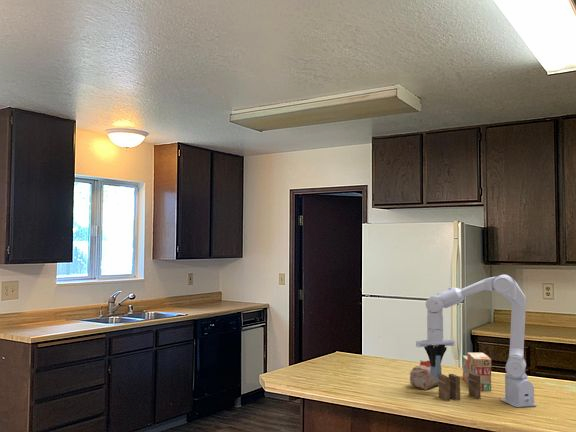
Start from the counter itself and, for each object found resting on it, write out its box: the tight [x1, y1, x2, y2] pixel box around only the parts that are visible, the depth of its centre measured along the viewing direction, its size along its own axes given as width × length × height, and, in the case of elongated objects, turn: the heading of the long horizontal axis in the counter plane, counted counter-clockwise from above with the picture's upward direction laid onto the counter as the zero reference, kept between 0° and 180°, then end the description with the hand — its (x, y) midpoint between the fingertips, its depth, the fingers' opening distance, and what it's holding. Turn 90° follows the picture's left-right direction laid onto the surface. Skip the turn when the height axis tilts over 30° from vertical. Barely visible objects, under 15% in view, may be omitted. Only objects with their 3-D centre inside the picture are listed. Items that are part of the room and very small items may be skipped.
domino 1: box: [438, 373, 451, 402], centre depth 203 cm, size 2×5×8 cm, turn 14°
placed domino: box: [430, 354, 442, 378], centre depth 210 cm, size 2×5×8 cm, turn 13°
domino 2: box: [448, 373, 461, 401], centre depth 204 cm, size 2×5×8 cm, turn 14°
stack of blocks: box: [461, 352, 492, 393], centre depth 224 cm, size 21×6×12 cm, turn 175°
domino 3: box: [468, 373, 482, 400], centre depth 206 cm, size 2×5×8 cm, turn 13°
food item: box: [409, 359, 443, 391], centre depth 221 cm, size 14×8×10 cm, turn 139°
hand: (435, 366), depth 210 cm, fingers closed on placed domino, 1 cm apart
